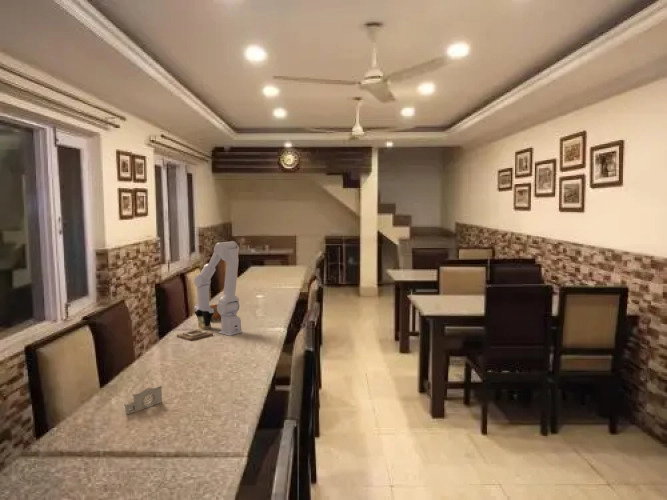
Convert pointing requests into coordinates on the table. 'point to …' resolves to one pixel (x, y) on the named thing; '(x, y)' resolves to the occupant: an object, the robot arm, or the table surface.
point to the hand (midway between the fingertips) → (204, 325)
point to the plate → (194, 335)
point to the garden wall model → (140, 397)
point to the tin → (215, 313)
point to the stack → (202, 323)
